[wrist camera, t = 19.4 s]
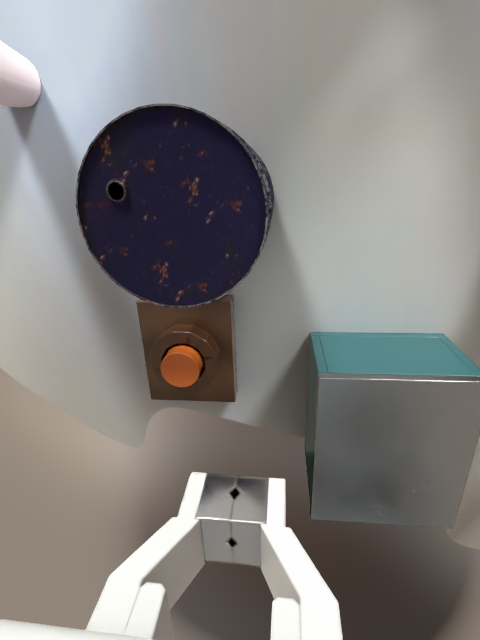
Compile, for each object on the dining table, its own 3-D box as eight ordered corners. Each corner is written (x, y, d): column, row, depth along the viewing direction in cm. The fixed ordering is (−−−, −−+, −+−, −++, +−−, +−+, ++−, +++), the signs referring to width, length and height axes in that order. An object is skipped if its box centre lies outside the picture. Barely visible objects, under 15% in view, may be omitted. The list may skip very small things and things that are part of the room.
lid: (449, 520, 32) (453, 528, 32) (310, 512, 34) (310, 519, 33) (488, 376, 27) (494, 382, 26) (318, 372, 28) (319, 378, 27)
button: (204, 378, 34) (200, 388, 32) (168, 377, 34) (162, 386, 33) (201, 344, 33) (197, 353, 31) (163, 344, 33) (158, 352, 32)
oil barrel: (294, 167, 30) (307, 160, 16) (246, 271, 33) (224, 338, 20) (185, 114, 29) (100, 58, 15) (149, 226, 33) (54, 263, 19)
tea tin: (419, 452, 39) (450, 514, 32) (304, 447, 41) (310, 506, 33) (443, 333, 34) (487, 376, 27) (309, 332, 35) (317, 372, 28)
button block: (237, 390, 39) (233, 413, 35) (157, 388, 39) (145, 409, 36) (233, 294, 34) (227, 308, 31) (144, 294, 35) (128, 308, 32)
